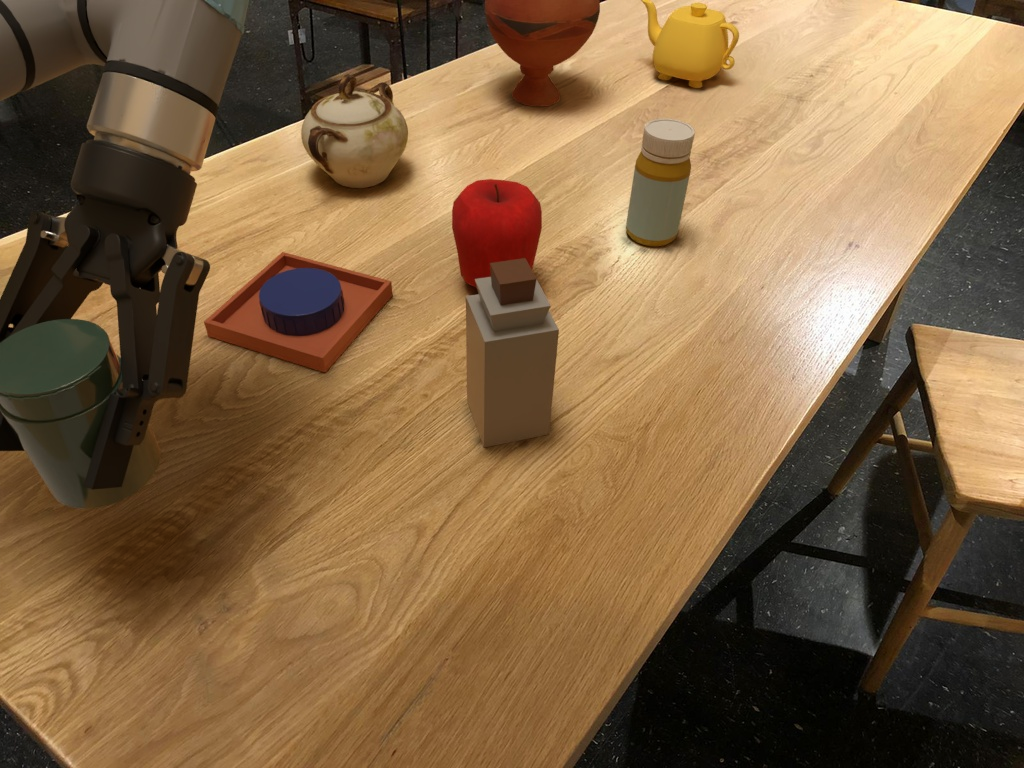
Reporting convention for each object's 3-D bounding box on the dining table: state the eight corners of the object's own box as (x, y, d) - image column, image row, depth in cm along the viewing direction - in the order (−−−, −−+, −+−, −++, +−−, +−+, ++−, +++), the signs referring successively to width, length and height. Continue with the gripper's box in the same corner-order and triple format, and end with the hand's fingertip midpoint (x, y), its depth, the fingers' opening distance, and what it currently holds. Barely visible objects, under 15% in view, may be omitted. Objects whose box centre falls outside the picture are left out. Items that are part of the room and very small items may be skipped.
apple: (472, 316, 90) (472, 215, 80) (441, 270, 96) (437, 171, 87) (552, 295, 93) (560, 196, 84) (516, 252, 100) (520, 155, 91)
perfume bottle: (549, 434, 76) (562, 287, 64) (483, 447, 75) (485, 299, 62) (528, 389, 81) (538, 244, 69) (467, 400, 79) (465, 254, 67)
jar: (23, 489, 57) (-50, 375, 49) (102, 417, 62) (47, 305, 54) (109, 523, 55) (47, 410, 47) (183, 446, 60) (138, 334, 52)
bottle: (662, 217, 107) (681, 114, 97) (685, 244, 102) (708, 138, 92) (617, 225, 106) (631, 120, 95) (638, 252, 101) (656, 145, 90)
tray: (207, 336, 86) (203, 321, 84) (285, 265, 96) (282, 251, 95) (325, 372, 82) (322, 358, 80) (392, 295, 92) (391, 281, 91)
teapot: (716, 98, 138) (732, 24, 129) (616, 73, 145) (625, 1, 137) (741, 74, 147) (758, 3, 138) (646, 52, 154) (656, -17, 145)
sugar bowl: (365, 218, 105) (353, 112, 95) (277, 192, 109) (256, 88, 99) (436, 158, 118) (432, 60, 108) (355, 137, 122) (343, 40, 112)
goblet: (565, 129, 127) (579, -37, 110) (463, 105, 133) (461, -56, 116) (605, 89, 140) (623, -65, 123) (510, 68, 145) (515, -82, 128)
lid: (359, 316, 88) (356, 296, 86) (285, 346, 84) (280, 326, 82) (321, 278, 93) (317, 258, 91) (250, 305, 89) (244, 285, 87)
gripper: (298, 204, 55) (209, 509, 55) (69, 147, 60) (-12, 426, 60) (237, 168, 47) (135, 520, 47) (-18, 107, 53) (-110, 424, 53)
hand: (53, 467), depth 54 cm, fingers closed on jar, 8 cm apart
